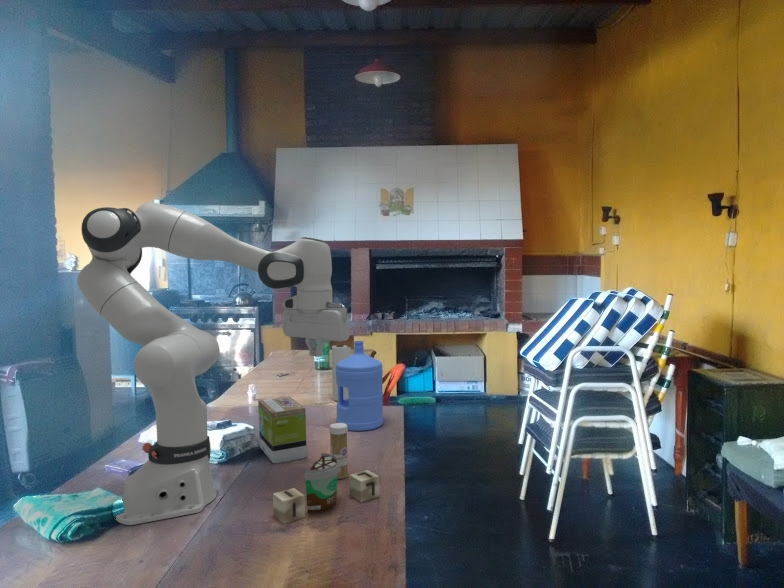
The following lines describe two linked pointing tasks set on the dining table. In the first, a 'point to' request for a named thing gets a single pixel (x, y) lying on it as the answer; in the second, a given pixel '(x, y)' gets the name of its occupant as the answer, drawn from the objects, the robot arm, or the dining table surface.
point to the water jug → (360, 391)
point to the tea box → (282, 429)
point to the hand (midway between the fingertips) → (315, 356)
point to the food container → (322, 484)
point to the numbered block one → (288, 505)
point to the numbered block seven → (364, 485)
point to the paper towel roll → (337, 355)
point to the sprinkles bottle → (339, 446)
